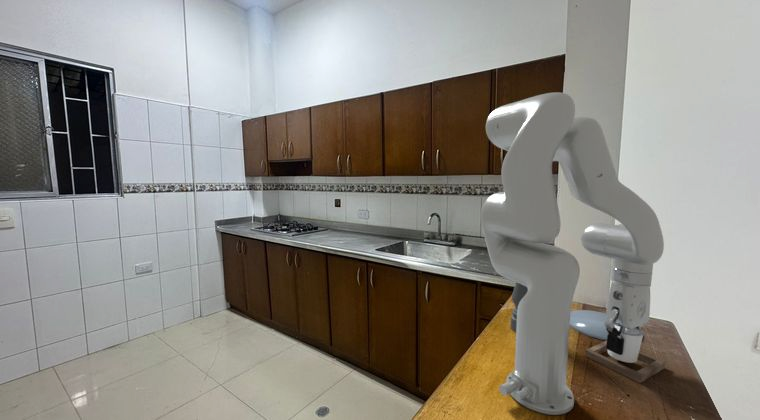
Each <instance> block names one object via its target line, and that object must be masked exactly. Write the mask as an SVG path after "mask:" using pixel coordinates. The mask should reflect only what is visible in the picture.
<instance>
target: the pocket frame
mask: <svg viewBox="0 0 760 420" xmlns="http://www.w3.org/2000/svg"><path fill="white" fill-rule="evenodd" d="M606 345H607V341H605V340H604V341H602V342H600V343H598V344H596V345H594V346H592V347H589V348H587V349H585V351H584V352H585V353H584V355H585V356H584V357H586V358H588V359H590V360H591V361H592V360H593V361H595V362H596V363H599V364H600V365H603V366H604V367H606V368H608V369H611V370H612V371H615V372H616V373H618V374H621V375H622V376H624V377H626V378H629V379H630V380H633V381H634V382H637V383H638V384H642V383H643V382H644V381H646V380H648V379H650V378H651V377H652V376H654V375H656V374H658V373H659V372H661V371H662V370H664V369H666V361H664V360H662V359H660V358H658V357H655V356H653V355H650V354H649V353H646V352H643V351H641V350H639V354H638V358H637V360H639V361H642V362H644V363H647V365H645V366H644V367H642V368H640V369H638V370H634V369H632V368H630V367H628V366H625V365H624V364H622V363H619V362H617V361H615V360H614V359H611V358H609V357H607V356H605V355H603V353H605V352H608V349H607V348H606Z"/></svg>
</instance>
